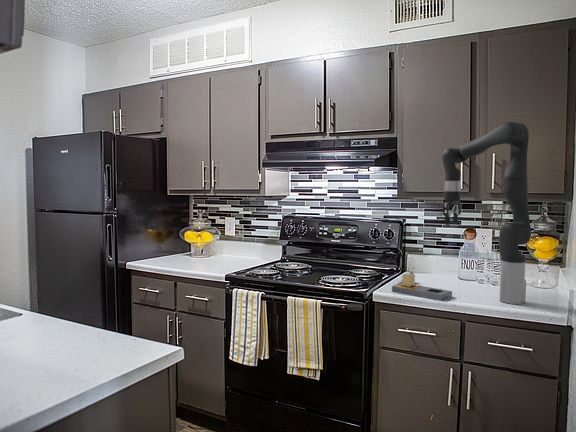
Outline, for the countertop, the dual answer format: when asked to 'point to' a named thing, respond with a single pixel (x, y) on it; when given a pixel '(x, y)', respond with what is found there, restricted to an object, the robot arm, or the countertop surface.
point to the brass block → (408, 280)
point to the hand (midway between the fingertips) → (451, 224)
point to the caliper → (401, 280)
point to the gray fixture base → (423, 292)
